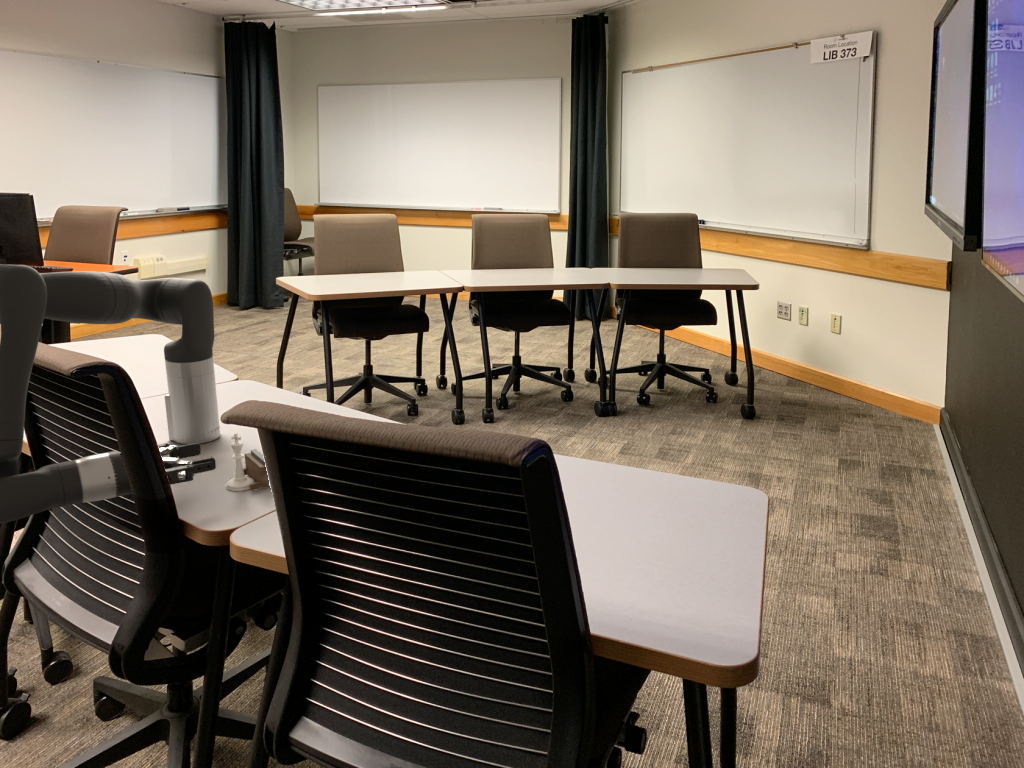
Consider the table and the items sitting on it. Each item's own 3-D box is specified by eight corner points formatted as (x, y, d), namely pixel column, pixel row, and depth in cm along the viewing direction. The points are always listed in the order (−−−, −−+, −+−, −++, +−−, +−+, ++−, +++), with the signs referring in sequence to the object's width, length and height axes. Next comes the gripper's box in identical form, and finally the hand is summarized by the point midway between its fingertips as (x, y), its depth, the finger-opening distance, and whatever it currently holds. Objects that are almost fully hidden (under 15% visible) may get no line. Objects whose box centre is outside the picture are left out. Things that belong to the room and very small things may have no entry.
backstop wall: (266, 487, 158) (264, 461, 157) (252, 475, 163) (250, 450, 162) (271, 486, 159) (269, 460, 157) (257, 474, 164) (255, 449, 163)
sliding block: (251, 490, 156) (249, 469, 155) (235, 476, 162) (233, 456, 161) (267, 487, 157) (265, 466, 156) (251, 472, 164) (249, 452, 163)
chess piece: (246, 492, 156) (241, 439, 153) (221, 489, 157) (215, 437, 154) (259, 481, 161) (255, 429, 158) (235, 479, 162) (230, 427, 159)
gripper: (115, 467, 138) (218, 446, 147) (95, 441, 149) (193, 424, 158) (121, 511, 140) (222, 488, 149) (101, 482, 151) (196, 463, 160)
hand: (207, 455), depth 154 cm, fingers open, 8 cm apart
